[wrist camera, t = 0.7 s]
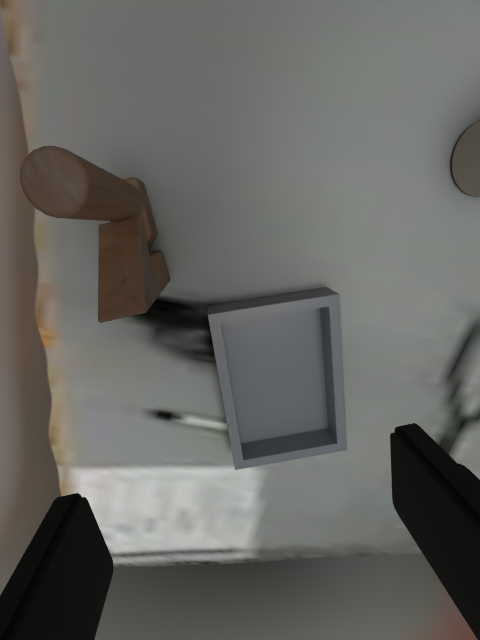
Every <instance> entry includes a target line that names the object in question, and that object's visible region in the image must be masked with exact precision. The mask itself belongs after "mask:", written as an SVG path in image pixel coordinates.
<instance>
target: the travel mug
mask: <svg viewBox="0 0 480 640" xmlns="http://www.w3.org/2000/svg"><path fill="white" fill-rule="evenodd" d="M452 172H453V176H454V179H455V182H456V183H457V185H458V187H459V188H460V189H461V190H462V191H463V192H465V193H467V194H469V195H471V196H477V197H480V121H478V122H476V123H475V124H473V125H472V126H471V127H470V128H468V129H467V130H466V131H465V133H464V134H463V135H462V136H461V138H460V140H459V141H458V143H457V145H456V148H455V150H454V154H453V159H452Z"/></svg>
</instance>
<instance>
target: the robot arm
mask: <svg viewBox="0 0 480 640" xmlns="http://www.w3.org/2000/svg"><path fill="white" fill-rule="evenodd" d="M390 444H391V472H392V499H393V504H394V507H395V509H396V512H397V513H398V515H399V517H400V518H401V520H402V521H403V523H404V524H405V526H406V528H407V529H408V531H409V532H410V534H411V535H412V537H413V539H414V540H415V542H416V543H417V545H418V546H419V548H420V550H421V551H422V553H423V554H424V556H425V557H426V559H427V561H428V562H429V564H430V565H431V567H432V568H433V570H434V572H435V573H436V575H437V576H438V578H439V579H440V581H441V583H442V584H443V586H444V587H445V589H446V590H447V592H448V594H449V595H450V597H451V598H452V600H453V601H454V603H455V604H456V606H457V608H458V609H459V611H460V612H461V614H462V616H463V617H464V619H465V620H466V622H467V623H468V625H469V626H470V628H471V630H472V631H473V633H474V634H475V636H476V638H477V639H478V640H480V480H479V479H478V478H477V477H476V476H475V475H474V474H473V473H472V472H471V471H470V470H469V469H467V468H466V467H465V466H463V465H461V464H457V463H456V462H455V461H454V460H453V459H452V458H451V457H450V456H449V455H448V454H447V453H446V452H445V451H444V450H443V449H442V448H441V447H440V446H439V445H438V444H437V443H436V442H435V441H434V440H433V439H432V438H431V437H430V436H429V435H428V434H427V433H426V432H425V431H424V430H423V429H422V428H421V427H420V426H418V425H417V424H415V423H413V424H408V425H404V426H399V427H396V428H395V433H391V435H390ZM112 574H113V560H112V557H111V555H110V552H109V550H108V548H107V545H106V543H105V541H104V538H103V536H102V533H101V531H100V529H99V526H98V524H97V522H96V519H95V517H94V514H93V512H92V510H91V507H90V505H89V502H88V500H87V499H86V498H85V497H83V498H82V497H81V495H80V494H78V493H76V494H71V495H66V496H62V497H58V498H56V499H55V500H54V502H53V503H52V505H51V507H50V509H49V511H48V512H47V514H46V516H45V518H44V519H43V521H42V523H41V525H40V526H39V528H38V530H37V532H36V533H35V535H34V537H33V539H32V541H31V542H30V545H29V546H28V548H27V549H26V551H25V553H24V555H23V556H22V558H21V560H20V562H19V564H18V565H17V567H16V569H15V571H14V573H13V574H12V576H11V578H10V579H9V582H8V583H7V585H6V587H5V588H4V590H3V592H2V594H1V595H0V640H94V638H95V635H96V631H97V628H98V624H99V621H100V617H101V613H102V610H103V606H104V603H105V599H106V596H107V592H108V589H109V585H110V582H111V578H112Z"/></svg>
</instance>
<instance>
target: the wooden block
mask: <svg viewBox="0 0 480 640" xmlns="http://www.w3.org/2000/svg"><path fill="white" fill-rule="evenodd" d="M20 181H21V186H22V189H23V191H24V193H25V195H26V197H27V199H28V200H29V201H30V202H31V203H32V204H33V205H34V206H35V207H36V209H38V210H39V211H41V212H43V213H44V214H46V215H49V216H52V217H56V218H68V219H86V220H103V221H111V222H110V223H105V224H101V225H99V280H98V321H99V322H100V323H102V322H106V321H111V320H115V319H120V318H124V317H129V316H133V315H138V314H142V313H146V312H147V310H148V309H149V308H150V306H151V305H152V304H153V302H154V301H155V300H156V299H157V297H158V296H159V295H160V293H161V292H162V290H163V289H164V288H165V286H166V285H167V284H168V283H169V281H170V277H169V273H168V269H167V266H166V262H165V259H164V255H163V253H162V251H156V252H152V253H149V248H150V246H151V245H152V243H153V241H154V239H155V238H156V236H157V230H156V226H155V222H154V219H153V215H152V211H151V208H150V204H149V200H148V197H147V193H146V189H145V186H144V183H143V182H141V181H140V180H138V179H137V178H130V179H125V180H123V179H121V178H119V177H117V176H115V175H113V174H111V173H109V172H108V171H106V170H104V169H102V168H100V167H98V166H96V165H94V164H92V163H91V162H89V161H87V160H85V159H83V158H81V157H79V156H77V155H75V154H74V153H72V152H70V151H68V150H66V149H63V148H59V147H56V146H43V147H41V148H38V149H36V150H33V151H32V152H31V153H30V154H29V155H28V156H27V157H26V158H25V159H24V162H23V164H22V166H21V170H20Z"/></svg>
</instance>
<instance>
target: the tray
mask: <svg viewBox="0 0 480 640" xmlns="http://www.w3.org/2000/svg"><path fill="white" fill-rule="evenodd" d="M208 319H209V325H210V330H211V336H212V342H213V347H214V353H215V359H216V364H217V370H218V376H219V381H220V387H221V393H222V398H223V404H224V410H225V415H226V421H227V427H228V432H229V438H230V444H231V449H232V455H233V461H234V466H235V470H237V469H243V468H248V467H254V466H260V465H265V464H271V463H276V462H282V461H287V460H293V459H298V458H304V457H310V456H315V455H321V454H326V453H332V452H337V451H343V450H347V440H346V420H345V399H344V379H343V358H342V338H341V317H340V297H339V294H338V293H336V292H335V291H333V290H331V289H329V288H327V287H325V288H319V289H313V290H306V291H300V292H293V293H287V294H281V295H274V296H268V297H262V298H255V299H249V300H242V301H236V302H230V303H223V304H217V305H211V306H208Z"/></svg>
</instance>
